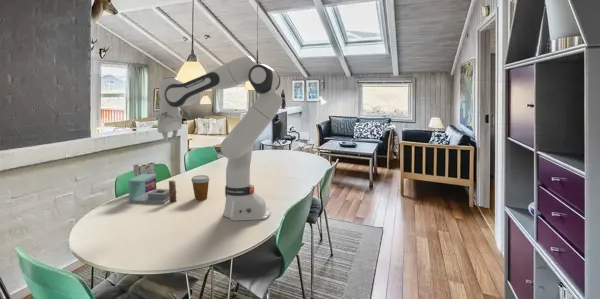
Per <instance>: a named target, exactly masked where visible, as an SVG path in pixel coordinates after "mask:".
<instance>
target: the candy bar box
mask: <svg viewBox="0 0 600 299" xmlns="http://www.w3.org/2000/svg"><path fill="white" fill-rule="evenodd" d="M132 168H133V176H134V177H136V176H139V175H141V174H156V164H155V162H154V161H146V162H140V163H138V164H133V167H132ZM134 177H133V178H134ZM156 177H157V175H156V176H155V177H153V178H152V179H150V180H148V181H146V182H145V193H149V192H152V191H154V190H155V189H157V179H156Z"/></svg>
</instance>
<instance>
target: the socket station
mask: <svg viewBox="0 0 600 299" xmlns="http://www.w3.org/2000/svg"><path fill="white" fill-rule="evenodd" d="M155 176H156V177H157V174H156V173H155V174H141V175H139V176H136V177H132V178H130V179H128V180H127V183H128V184H127V185H128V196H129V203H130V204H162V205H163V204H166V203H167V202H168V201H170V195H169V188H168V189H167V188H166V189H164V188H156V189H154V190H151V191H149V192H146V193H145V182H146V181H148V180H150V179H152V178H153V177H155Z"/></svg>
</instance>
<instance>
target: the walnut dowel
mask: <svg viewBox="0 0 600 299" xmlns="http://www.w3.org/2000/svg"><path fill="white" fill-rule="evenodd" d="M168 189H169V195H170V200H169V202H170V203H176V202H177V186H176V180H168Z"/></svg>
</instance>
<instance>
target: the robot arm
mask: <svg viewBox="0 0 600 299" xmlns="http://www.w3.org/2000/svg"><path fill="white" fill-rule="evenodd" d="M246 82H249V83H250V85H251V86H252V88H253V90H254V91H255V92H256V93H257V94H258V96H257V98H256V100H254V102H253V104H251V106H250V107H249V109H248V110H247V111H246V113H245V114H244V116H243V117H242V118H241V119H240V120H239V122H237V123H236V125H235V126H234V127H233V128H232V129H231V131H230V132H229V133H228V134H227V135H226V136H225V138H224V139H223V140H222V141H221V143H220V152H221V154H222V155H223V157H225V158H227V164H226V168H225V187H224V195H225V204H224V209H223V213H222V214H223V215H222V216H224V217H225V218H227V219H230V220H231V221H234V222H235V221H236V222H238V221H256V220H257V221H258V220H267V219H268V218H269V217H270V215H271V214H272V213H271V212H272V211H271V208H269V207H267V204H266V201H265V199H264V198H263V197H261V196H260V195H259V194H257V193H256V192H255V185H253V184H251V163H252V162H251V161H252V153H253V151H252V150H253V144H254V143H255V142H256V140H257V139H259V137H260V135H262V134H263V132H264V131H265V130H266V128H267V127H268V126H269V125H270V123H271V122H272V121H273V119H274V118H275V116H276V115H277V113H278V111H279V110H280V108H281V106H282V104H283V98H282V96H281V94H280V93H279V92H277V90H278V89H279V88H280V85H281V77H280V75H279V74H278V72H276V70H274V69H273V68H272V67H270V66H269V65H266V64H263V63H259V64H257V62H256V61H255V59H254V58H253V57H252V56H249V55H245V56H241V57H237V58H234V59H232V60H230V61H228V62H225V63H223V64H222V65H220V66H218V67H216V68H215V69H213V70H211V71H209V72H206V74H203V75H200V76H198V77H196V78H194V79H191V80H188V81H187V82H182V81H181V80H180V79H178V78H177V77H174V76H172V77H163V78H162V79H161V80H160V82H159V88H158V89H159V90H158V93H159V94H158V95H159V96H158V97H159V99H160V100H159V101H160V102H159V116H158V118H157V132H158V134H161V135H162V137H163V142H166V143H167V142H169V141H170V140H169V139H170V137H169V133H170V132H172V135H171V139H172V140H176V139H177V138H178V130H181V129H182V125H183V113H184V112H183V110H182V109H181V108H180V107H186V106H193V105H196V104H197V103H198V101H199V98H200V95H199V94H201V93H203V92H205V91H210V90H223V89H224V90H226V89H231V88H235V87H237V86H240V85H242V84H244V83H246Z"/></svg>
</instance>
